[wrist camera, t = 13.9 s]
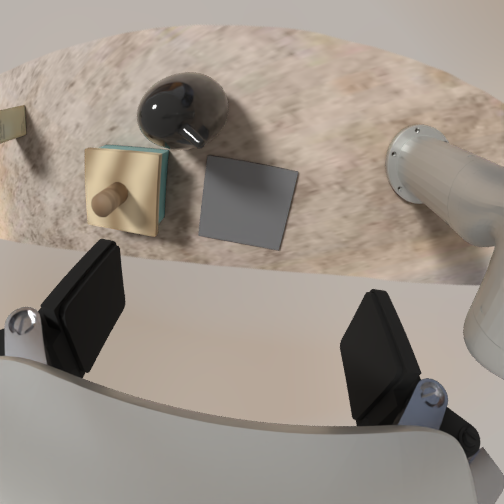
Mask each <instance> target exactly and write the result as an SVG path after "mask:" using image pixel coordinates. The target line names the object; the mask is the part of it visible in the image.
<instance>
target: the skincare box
mask: <svg viewBox="0 0 504 504" xmlns="http://www.w3.org/2000/svg"><path fill="white" fill-rule="evenodd" d="M24 135H26V123H25V106H24V105H23V106H18V107H13V108H8V109H4V110H0V144H1V143H3V142H6V141H9V140H12V139H15V138H18V137H21V136H24Z"/></svg>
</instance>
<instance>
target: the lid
mask: <svg viewBox="0 0 504 504" xmlns="http://www.w3.org/2000/svg"><path fill="white" fill-rule="evenodd" d="M161 164H162V153H152V152H142V151H132V150H119V149H105V148H87V149H85V190H86V207H87V219H88V224H90V225H95V226H100V227H105V228H111V229H116V230H121V231H127V232H132V233H137V234H143V235H148V236H153V237H156V235H157V234H158V221H159V195H160V178H161Z"/></svg>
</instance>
